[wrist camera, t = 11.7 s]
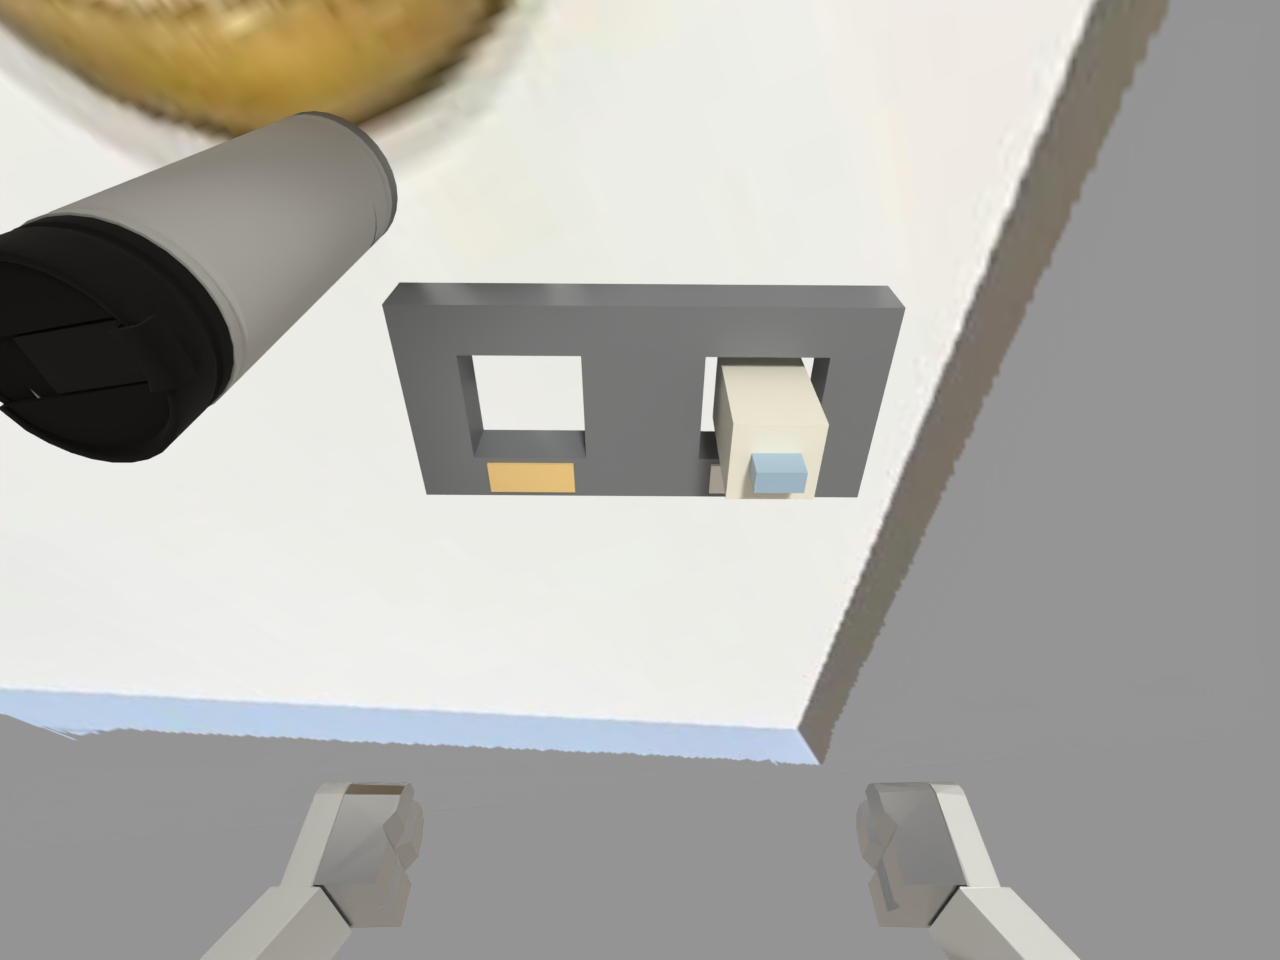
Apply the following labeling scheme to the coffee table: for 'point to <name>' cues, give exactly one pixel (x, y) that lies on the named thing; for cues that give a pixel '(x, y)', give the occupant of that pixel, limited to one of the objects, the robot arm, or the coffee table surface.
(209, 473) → the coffee table surface
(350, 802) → the robot arm
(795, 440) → the plug
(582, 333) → the panel
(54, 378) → the travel mug
